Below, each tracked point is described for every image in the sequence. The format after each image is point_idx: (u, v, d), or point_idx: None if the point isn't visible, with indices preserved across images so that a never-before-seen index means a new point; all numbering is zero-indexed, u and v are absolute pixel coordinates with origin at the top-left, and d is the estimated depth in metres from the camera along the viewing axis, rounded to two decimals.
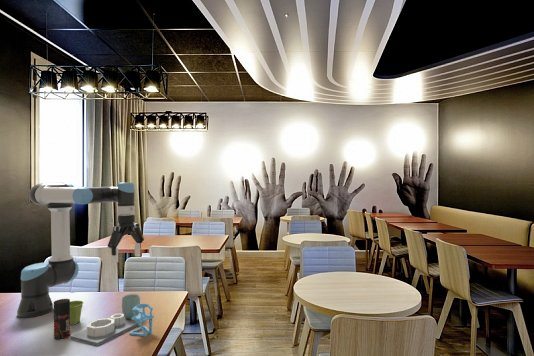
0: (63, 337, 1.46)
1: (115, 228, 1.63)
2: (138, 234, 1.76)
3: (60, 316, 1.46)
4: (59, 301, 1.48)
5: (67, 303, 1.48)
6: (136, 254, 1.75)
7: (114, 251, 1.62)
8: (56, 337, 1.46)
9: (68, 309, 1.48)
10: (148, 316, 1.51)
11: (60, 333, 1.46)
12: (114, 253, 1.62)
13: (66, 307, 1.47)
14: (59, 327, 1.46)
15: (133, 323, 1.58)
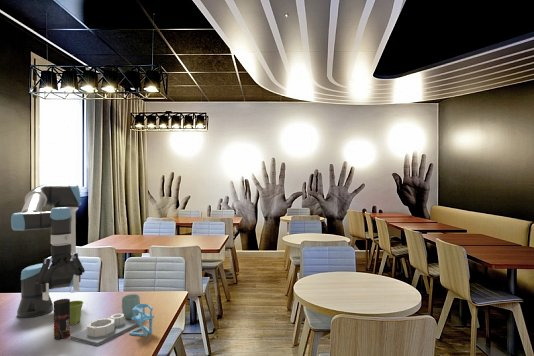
0: (63, 337, 1.46)
1: (45, 261, 1.42)
2: (77, 265, 1.55)
3: (60, 316, 1.46)
4: (59, 301, 1.48)
5: (67, 303, 1.48)
6: (75, 288, 1.54)
7: (43, 287, 1.41)
8: (56, 337, 1.46)
9: (68, 309, 1.48)
10: (148, 316, 1.51)
11: (60, 333, 1.46)
12: (43, 290, 1.41)
13: (66, 307, 1.47)
14: (59, 327, 1.46)
15: (133, 323, 1.58)
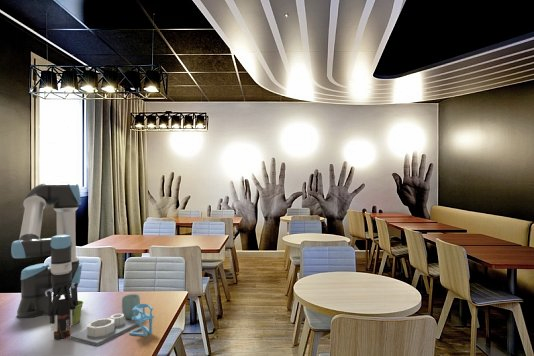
0: (63, 337, 1.46)
1: (46, 294, 1.43)
2: (73, 297, 1.53)
3: (60, 316, 1.46)
4: (59, 301, 1.48)
5: (67, 303, 1.48)
6: None
7: (52, 319, 1.44)
8: (56, 337, 1.46)
9: (68, 309, 1.48)
10: (148, 316, 1.51)
11: (60, 333, 1.46)
12: (52, 321, 1.44)
13: (66, 307, 1.47)
14: (59, 327, 1.46)
15: (133, 323, 1.58)
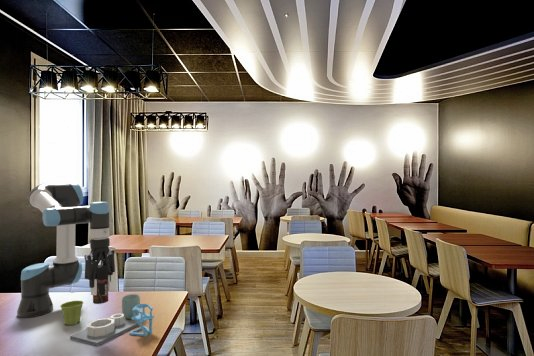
0: (102, 301, 1.48)
1: (87, 258, 1.45)
2: (110, 263, 1.56)
3: (99, 281, 1.48)
4: (98, 266, 1.50)
5: (106, 268, 1.50)
6: None
7: (92, 283, 1.47)
8: (95, 301, 1.48)
9: (107, 274, 1.51)
10: (148, 316, 1.51)
11: (99, 297, 1.48)
12: (92, 285, 1.47)
13: (105, 272, 1.50)
14: (99, 291, 1.48)
15: (133, 323, 1.58)
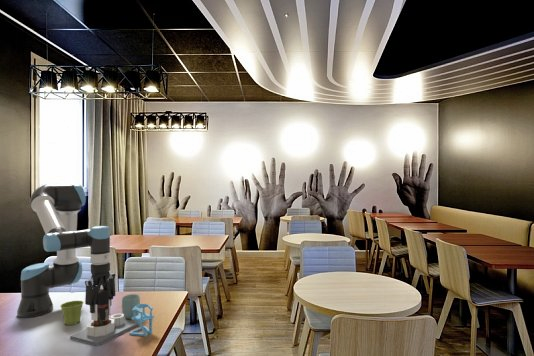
0: None
1: (87, 284, 1.45)
2: (111, 287, 1.56)
3: (100, 306, 1.48)
4: (98, 291, 1.50)
5: (106, 293, 1.50)
6: None
7: (93, 308, 1.47)
8: (96, 326, 1.48)
9: (107, 299, 1.51)
10: (148, 316, 1.51)
11: (100, 322, 1.48)
12: (93, 311, 1.47)
13: (106, 297, 1.50)
14: (99, 316, 1.48)
15: (133, 323, 1.58)
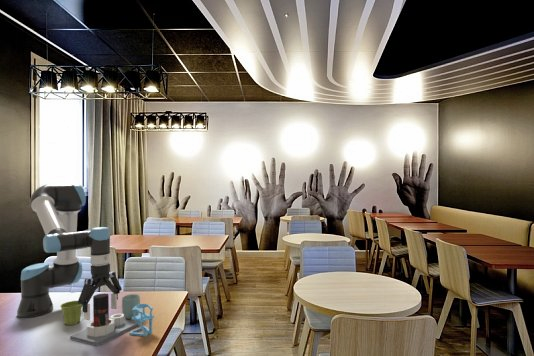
0: None
1: (87, 281, 1.45)
2: (115, 284, 1.58)
3: (99, 311, 1.48)
4: (98, 296, 1.51)
5: (106, 298, 1.50)
6: (112, 306, 1.57)
7: (85, 308, 1.43)
8: None
9: (107, 303, 1.51)
10: (148, 316, 1.51)
11: None
12: (85, 310, 1.43)
13: (106, 302, 1.50)
14: (99, 321, 1.48)
15: (133, 323, 1.58)
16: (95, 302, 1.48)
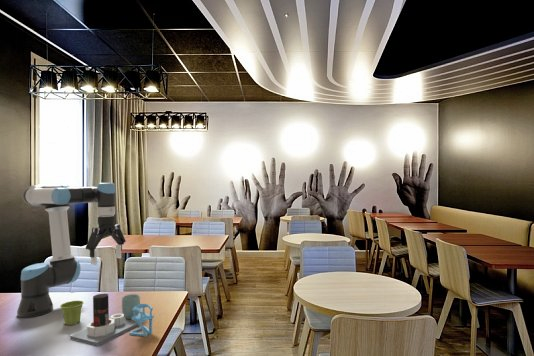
0: None
1: (94, 230, 1.59)
2: (119, 235, 1.72)
3: (99, 311, 1.48)
4: (98, 296, 1.50)
5: (106, 298, 1.50)
6: (117, 256, 1.72)
7: (92, 253, 1.58)
8: None
9: (107, 304, 1.51)
10: (148, 316, 1.51)
11: None
12: (92, 255, 1.58)
13: (105, 302, 1.50)
14: (99, 321, 1.48)
15: (133, 323, 1.58)
16: (95, 302, 1.48)
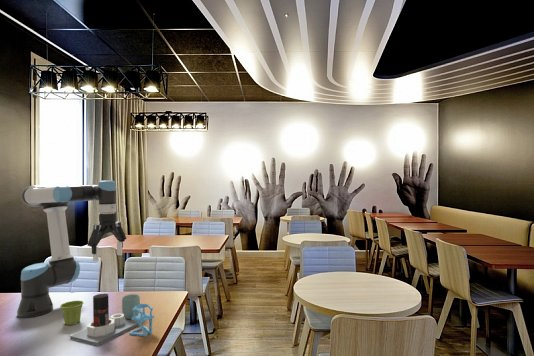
0: None
1: (95, 226, 1.62)
2: (120, 233, 1.75)
3: (99, 311, 1.48)
4: (98, 296, 1.50)
5: (106, 298, 1.50)
6: (118, 253, 1.74)
7: (94, 250, 1.60)
8: None
9: (107, 304, 1.51)
10: (148, 316, 1.51)
11: None
12: (94, 252, 1.60)
13: (106, 302, 1.50)
14: (99, 321, 1.48)
15: (133, 323, 1.58)
16: (95, 302, 1.48)
